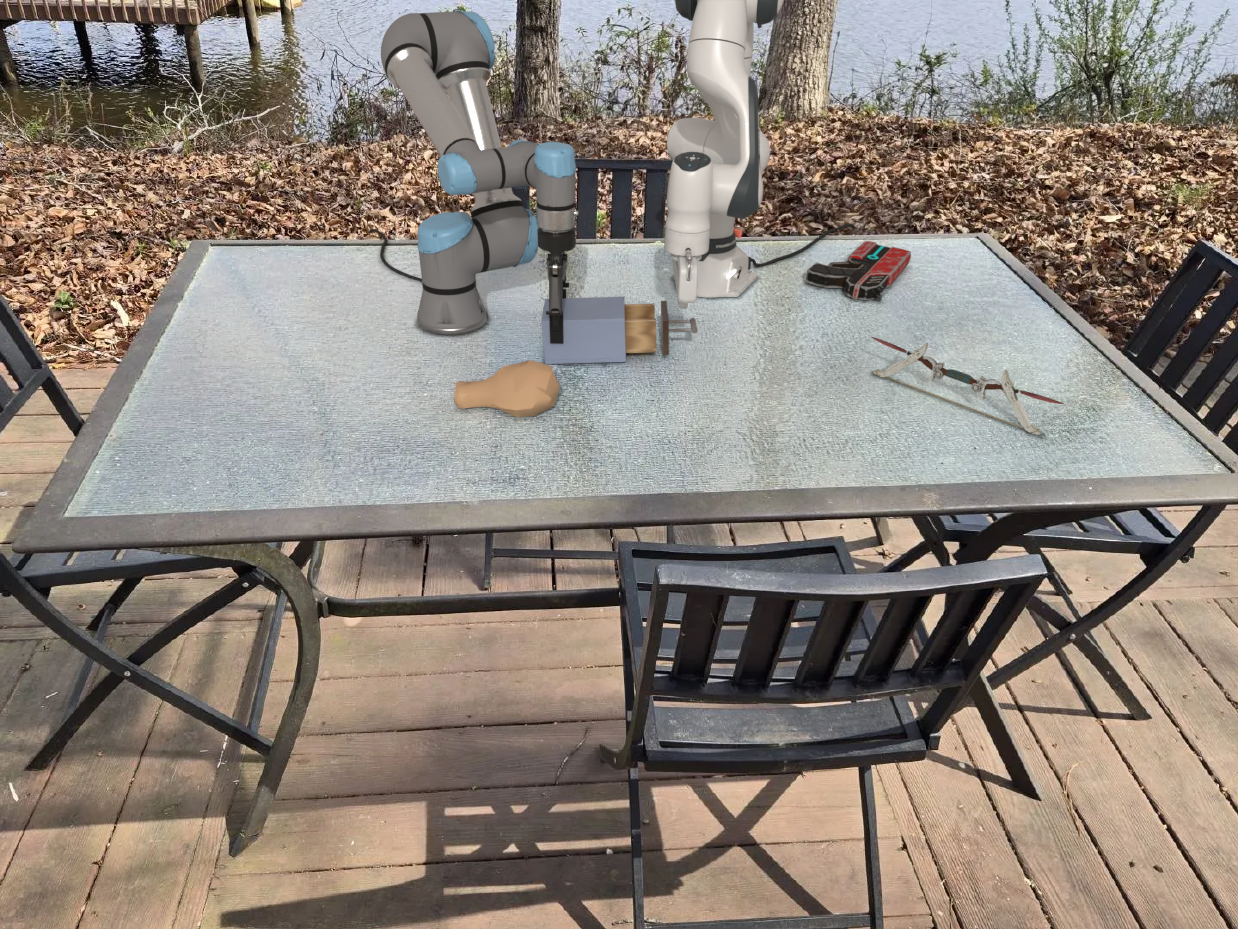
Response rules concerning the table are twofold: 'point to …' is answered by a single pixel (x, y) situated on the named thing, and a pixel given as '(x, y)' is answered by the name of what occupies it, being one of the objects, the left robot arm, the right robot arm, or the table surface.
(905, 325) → the table surface
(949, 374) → the bow
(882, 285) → the gun
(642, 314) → the drawer
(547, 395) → the squash
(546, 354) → the cabinet
